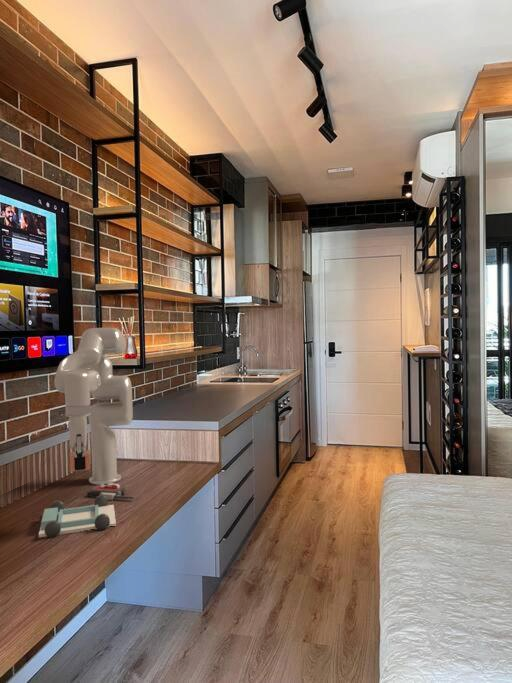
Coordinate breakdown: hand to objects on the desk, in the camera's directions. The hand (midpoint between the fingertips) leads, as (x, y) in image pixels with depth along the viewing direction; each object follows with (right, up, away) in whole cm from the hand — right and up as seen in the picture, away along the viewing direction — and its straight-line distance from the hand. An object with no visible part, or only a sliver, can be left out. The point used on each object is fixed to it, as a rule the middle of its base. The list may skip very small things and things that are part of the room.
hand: (80, 466), depth 159 cm
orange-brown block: (0, -1, 0) cm, 1 cm away
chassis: (0, -17, 0) cm, 17 cm away
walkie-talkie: (+4, -17, +24) cm, 30 cm away
